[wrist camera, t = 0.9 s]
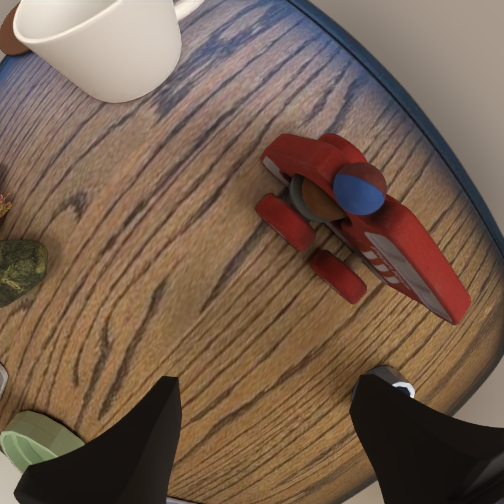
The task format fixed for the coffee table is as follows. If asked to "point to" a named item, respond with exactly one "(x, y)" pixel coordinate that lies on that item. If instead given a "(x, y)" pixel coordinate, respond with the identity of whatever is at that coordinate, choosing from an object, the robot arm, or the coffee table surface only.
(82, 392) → the coffee table surface
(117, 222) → the coffee table surface
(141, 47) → the mug
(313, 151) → the toy fire truck
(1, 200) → the decorative arrow
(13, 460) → the bowl
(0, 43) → the brown round coaster
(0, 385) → the smartphone
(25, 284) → the decorative stone
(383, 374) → the holder
